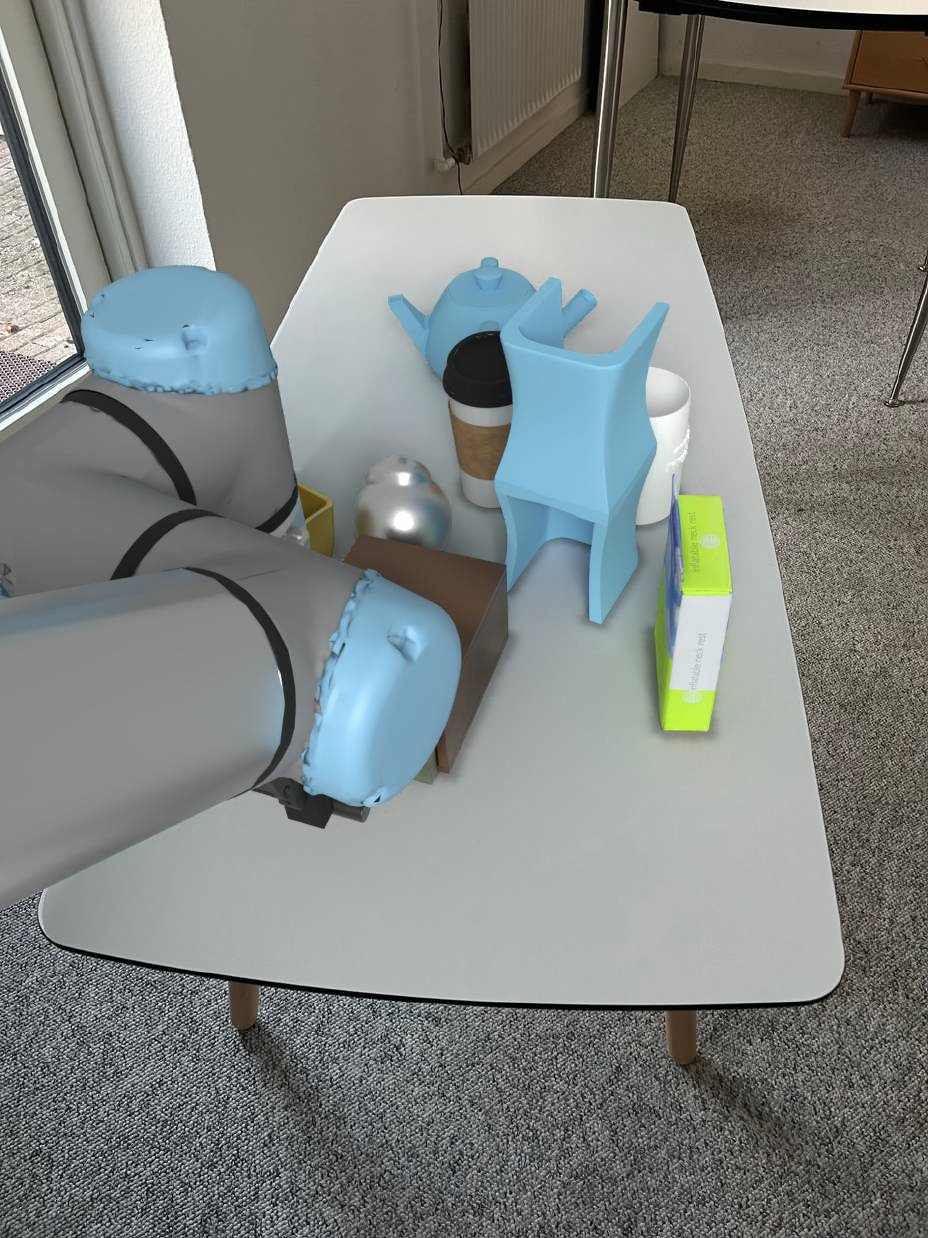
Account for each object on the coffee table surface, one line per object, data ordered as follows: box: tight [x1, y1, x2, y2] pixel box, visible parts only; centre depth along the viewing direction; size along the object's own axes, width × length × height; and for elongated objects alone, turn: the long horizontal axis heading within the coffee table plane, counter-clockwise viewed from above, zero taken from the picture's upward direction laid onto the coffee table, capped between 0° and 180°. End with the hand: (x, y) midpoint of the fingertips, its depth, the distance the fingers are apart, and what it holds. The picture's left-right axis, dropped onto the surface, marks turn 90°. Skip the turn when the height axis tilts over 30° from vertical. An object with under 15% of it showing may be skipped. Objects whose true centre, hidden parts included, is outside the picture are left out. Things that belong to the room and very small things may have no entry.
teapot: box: [387, 256, 598, 381], centre depth 114 cm, size 15×17×11 cm
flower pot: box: [297, 480, 335, 558], centre depth 93 cm, size 9×9×9 cm
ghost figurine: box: [351, 454, 453, 551], centre depth 94 cm, size 9×10×10 cm
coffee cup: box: [442, 331, 513, 509], centre depth 98 cm, size 8×8×15 cm
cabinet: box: [342, 534, 509, 775], centre depth 84 cm, size 15×13×9 cm
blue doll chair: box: [494, 276, 671, 625], centre depth 86 cm, size 10×10×25 cm
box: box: [653, 473, 734, 732], centre depth 80 cm, size 10×4×17 cm, turn 176°
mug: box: [636, 366, 692, 526], centre depth 99 cm, size 8×12×12 cm
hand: (310, 815), depth 73 cm, fingers closed
